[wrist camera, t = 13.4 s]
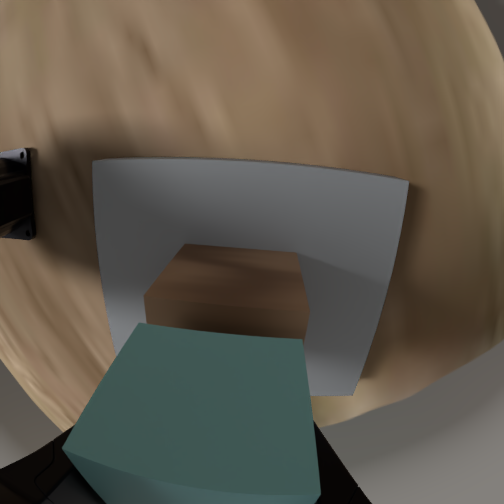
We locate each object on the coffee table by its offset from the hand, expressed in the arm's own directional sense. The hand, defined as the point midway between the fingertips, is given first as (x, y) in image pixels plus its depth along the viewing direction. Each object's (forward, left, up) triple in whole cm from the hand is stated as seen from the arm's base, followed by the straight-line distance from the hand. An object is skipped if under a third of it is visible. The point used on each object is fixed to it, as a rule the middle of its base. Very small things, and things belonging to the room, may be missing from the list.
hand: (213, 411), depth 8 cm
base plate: (0, 0, -10) cm, 10 cm away
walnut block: (0, 0, -8) cm, 8 cm away
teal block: (0, 0, -1) cm, 1 cm away
